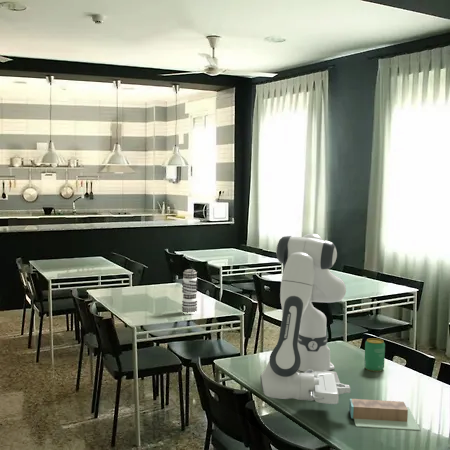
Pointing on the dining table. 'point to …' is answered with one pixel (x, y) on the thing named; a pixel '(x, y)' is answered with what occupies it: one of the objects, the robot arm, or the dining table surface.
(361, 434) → the dining table surface
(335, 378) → the die
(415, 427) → the green mat
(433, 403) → the dining table surface
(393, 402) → the walnut block
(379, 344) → the beverage can
